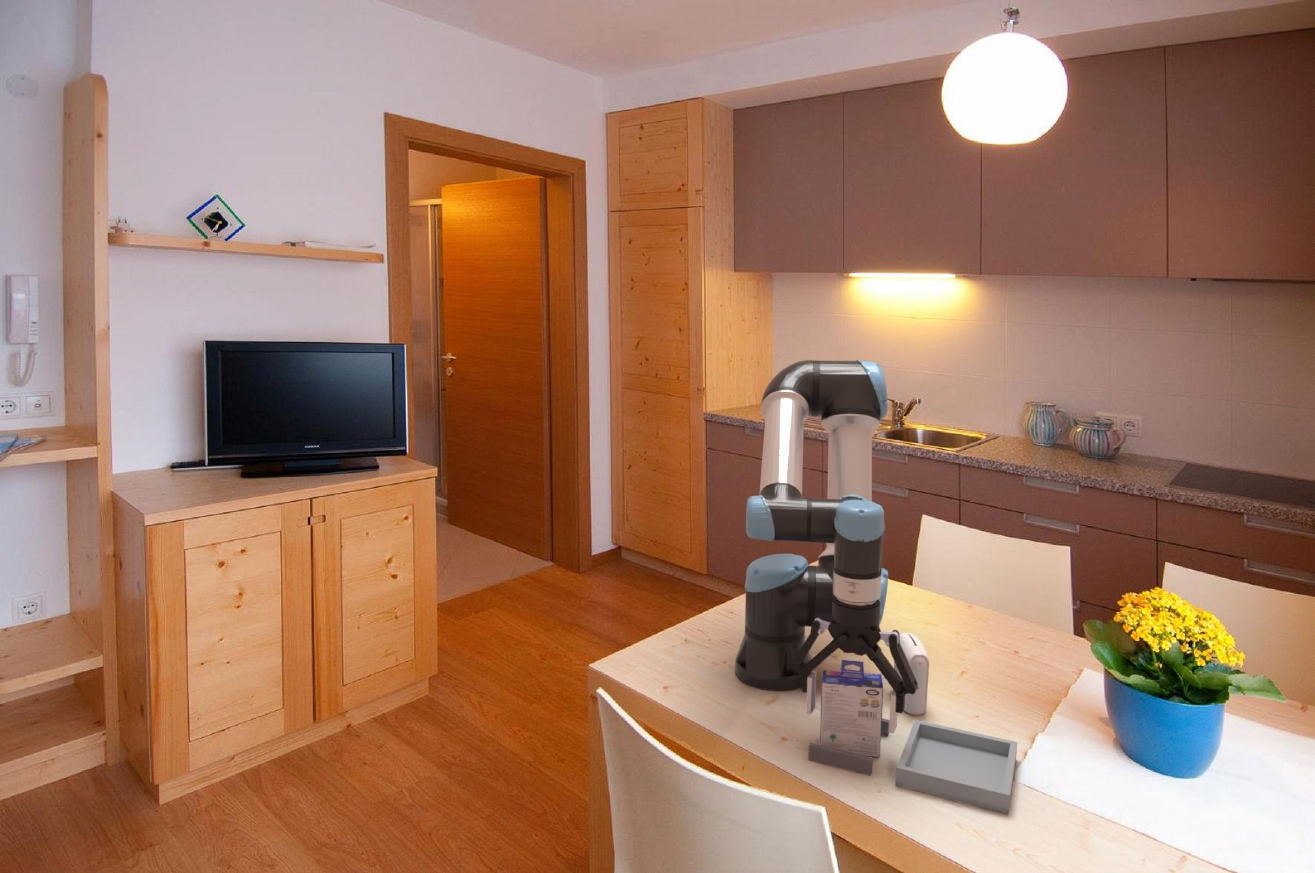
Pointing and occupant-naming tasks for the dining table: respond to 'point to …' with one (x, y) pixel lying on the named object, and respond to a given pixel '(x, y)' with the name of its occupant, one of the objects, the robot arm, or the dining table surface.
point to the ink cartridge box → (851, 710)
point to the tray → (958, 765)
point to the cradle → (845, 755)
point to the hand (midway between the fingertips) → (850, 719)
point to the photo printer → (915, 672)
